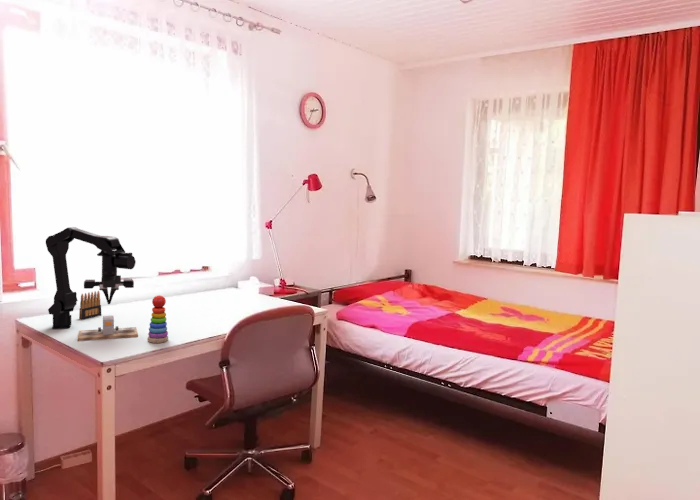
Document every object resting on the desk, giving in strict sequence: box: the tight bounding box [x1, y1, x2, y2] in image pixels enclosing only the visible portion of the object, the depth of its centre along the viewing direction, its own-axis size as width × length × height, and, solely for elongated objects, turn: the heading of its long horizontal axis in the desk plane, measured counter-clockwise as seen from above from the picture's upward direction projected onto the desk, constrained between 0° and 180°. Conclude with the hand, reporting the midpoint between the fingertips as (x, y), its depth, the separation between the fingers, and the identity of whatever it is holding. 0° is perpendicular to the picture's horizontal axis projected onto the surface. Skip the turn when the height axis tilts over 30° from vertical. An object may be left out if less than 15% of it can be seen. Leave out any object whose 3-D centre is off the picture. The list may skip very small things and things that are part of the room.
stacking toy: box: [146, 295, 169, 344], centre depth 209 cm, size 8×8×19 cm
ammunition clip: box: [78, 290, 102, 321], centre depth 240 cm, size 11×2×12 cm, turn 157°
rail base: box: [77, 325, 139, 342], centre depth 214 cm, size 22×12×3 cm, turn 116°
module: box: [102, 315, 115, 335], centre depth 214 cm, size 4×7×6 cm, turn 26°
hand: (109, 304), depth 216 cm, fingers closed
